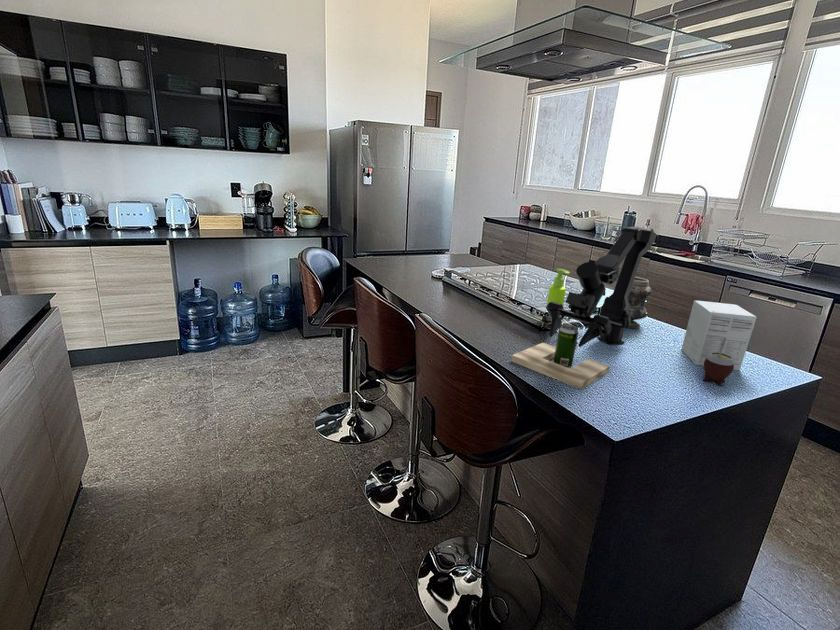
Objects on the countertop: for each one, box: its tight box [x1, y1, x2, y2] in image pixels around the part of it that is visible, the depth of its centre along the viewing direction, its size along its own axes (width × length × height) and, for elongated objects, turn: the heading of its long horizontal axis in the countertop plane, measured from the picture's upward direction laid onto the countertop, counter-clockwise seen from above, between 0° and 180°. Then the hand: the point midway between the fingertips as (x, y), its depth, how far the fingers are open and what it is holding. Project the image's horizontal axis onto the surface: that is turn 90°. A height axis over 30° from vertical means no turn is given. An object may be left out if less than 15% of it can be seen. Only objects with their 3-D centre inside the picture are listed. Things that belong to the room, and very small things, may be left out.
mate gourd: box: [702, 338, 734, 387], centre depth 129 cm, size 8×8×15 cm
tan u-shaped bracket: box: [511, 342, 611, 390], centre depth 134 cm, size 17×22×2 cm
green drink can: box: [553, 323, 579, 369], centre depth 133 cm, size 5×5×12 cm
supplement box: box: [680, 300, 758, 371], centre depth 144 cm, size 13×13×18 cm
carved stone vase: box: [628, 276, 652, 329], centre depth 173 cm, size 12×12×18 cm
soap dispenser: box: [546, 268, 571, 307], centre depth 171 cm, size 6×7×20 cm
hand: (564, 341), depth 132 cm, fingers open, 9 cm apart
